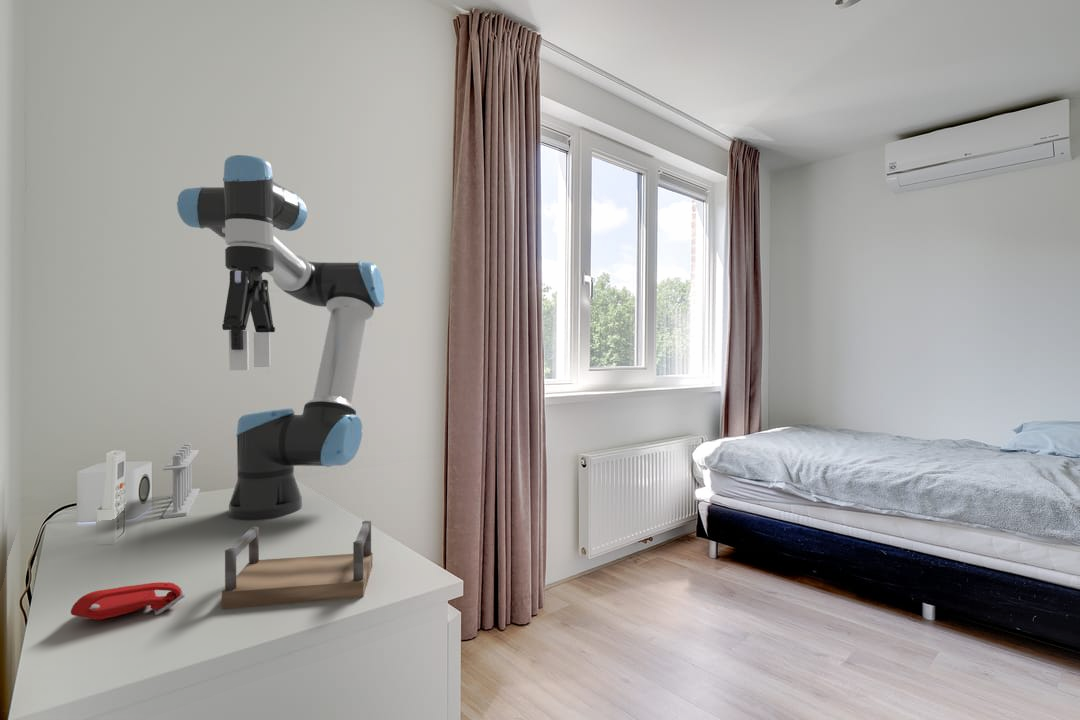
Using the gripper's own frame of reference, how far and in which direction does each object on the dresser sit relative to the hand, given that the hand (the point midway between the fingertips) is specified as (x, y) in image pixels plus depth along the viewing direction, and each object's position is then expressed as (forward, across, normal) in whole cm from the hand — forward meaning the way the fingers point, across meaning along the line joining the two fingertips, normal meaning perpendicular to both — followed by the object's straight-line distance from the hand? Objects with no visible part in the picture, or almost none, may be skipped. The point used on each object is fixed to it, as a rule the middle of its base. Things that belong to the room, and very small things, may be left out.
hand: (251, 368), depth 96 cm
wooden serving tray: (+33, +16, +11) cm, 39 cm away
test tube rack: (+34, -42, -27) cm, 60 cm away
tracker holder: (+31, +16, -8) cm, 36 cm away
